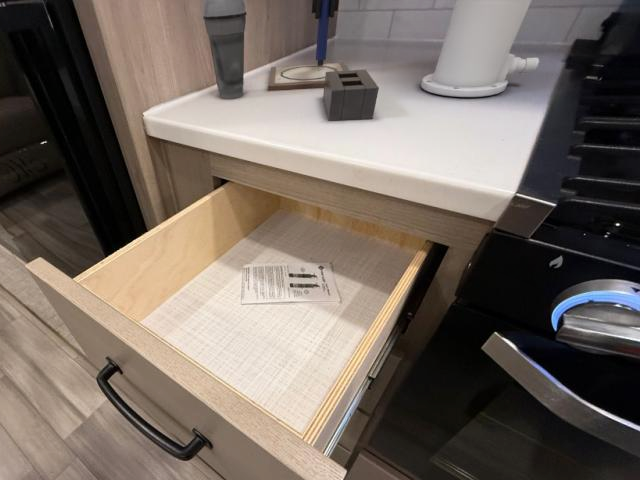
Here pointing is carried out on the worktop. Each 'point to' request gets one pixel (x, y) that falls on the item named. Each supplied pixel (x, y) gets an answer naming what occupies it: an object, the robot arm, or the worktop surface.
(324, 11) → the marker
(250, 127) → the worktop surface
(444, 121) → the worktop surface
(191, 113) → the worktop surface
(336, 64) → the drawing board
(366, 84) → the block
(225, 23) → the beverage cup
